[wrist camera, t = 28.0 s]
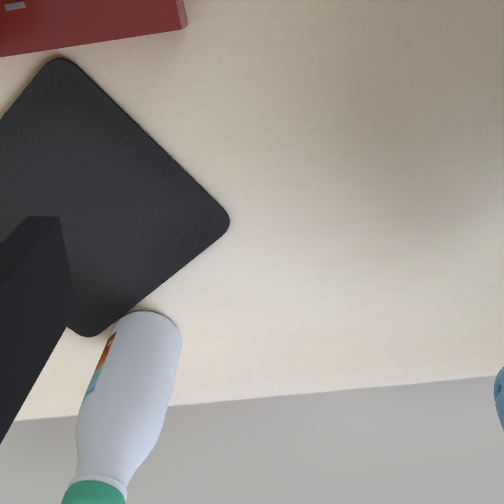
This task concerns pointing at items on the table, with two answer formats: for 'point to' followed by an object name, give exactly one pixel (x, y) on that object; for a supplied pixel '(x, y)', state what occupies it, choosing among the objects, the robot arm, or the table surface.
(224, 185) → the table surface
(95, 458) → the milk bottle
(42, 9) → the hotplate
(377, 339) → the table surface
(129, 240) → the mouse pad
